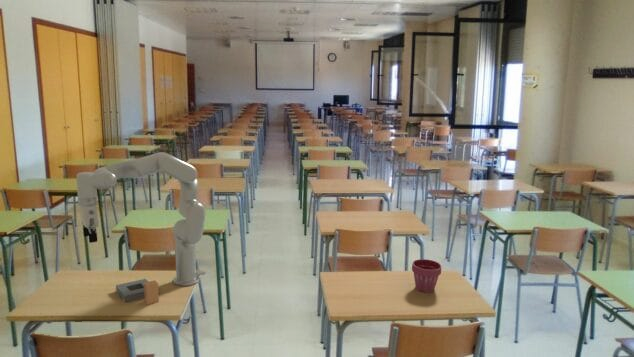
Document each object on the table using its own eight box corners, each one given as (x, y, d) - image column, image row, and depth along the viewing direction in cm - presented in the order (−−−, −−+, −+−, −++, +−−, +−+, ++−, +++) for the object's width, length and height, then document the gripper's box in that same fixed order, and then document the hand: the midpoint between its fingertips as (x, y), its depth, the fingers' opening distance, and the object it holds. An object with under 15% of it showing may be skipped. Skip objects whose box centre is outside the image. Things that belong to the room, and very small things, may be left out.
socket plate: (145, 284, 250) (145, 278, 250) (155, 294, 239) (155, 288, 239) (116, 291, 242) (115, 285, 241) (125, 302, 231) (124, 295, 230)
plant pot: (445, 291, 251) (447, 267, 248) (422, 296, 245) (424, 271, 242) (427, 280, 263) (429, 257, 261) (405, 285, 257) (406, 261, 255)
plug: (155, 298, 235) (154, 280, 233) (158, 301, 232) (157, 283, 230) (144, 301, 232) (143, 282, 231) (147, 304, 229) (146, 285, 227)
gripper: (102, 204, 215) (104, 243, 218) (92, 195, 228) (94, 232, 232) (83, 206, 210) (86, 246, 214) (74, 197, 224) (76, 235, 227)
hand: (90, 238), depth 223 cm, fingers open, 9 cm apart
